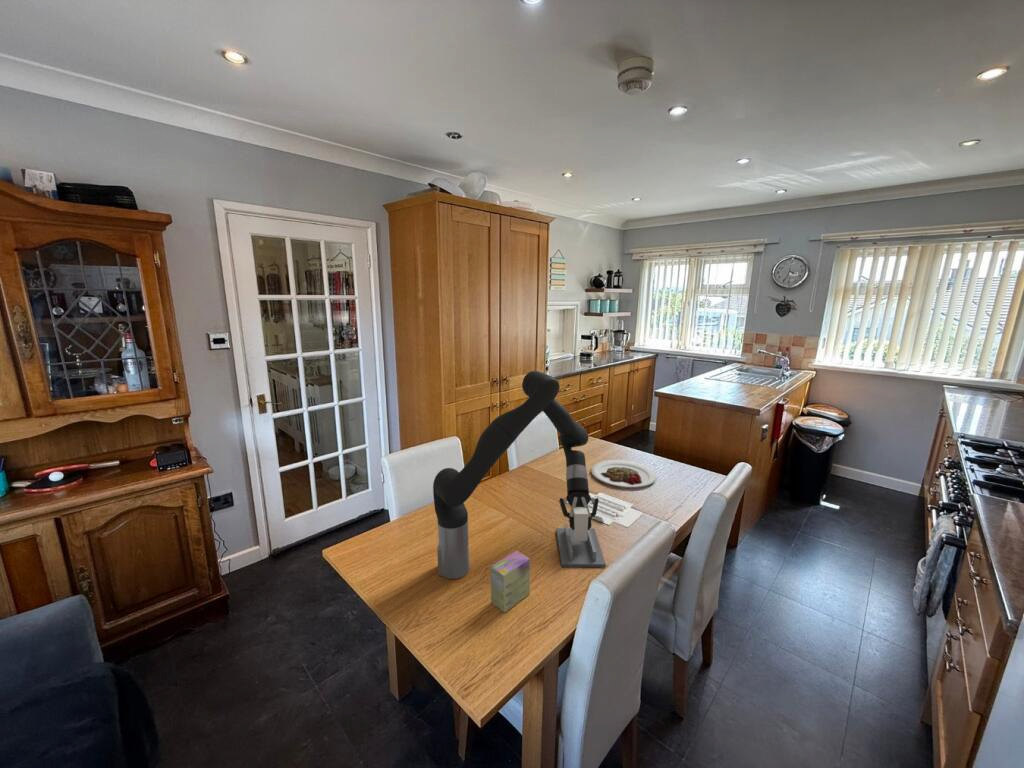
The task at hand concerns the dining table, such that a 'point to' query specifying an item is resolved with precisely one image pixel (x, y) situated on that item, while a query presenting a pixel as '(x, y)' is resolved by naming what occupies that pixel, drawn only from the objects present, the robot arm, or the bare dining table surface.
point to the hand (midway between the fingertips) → (580, 529)
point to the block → (580, 524)
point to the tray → (613, 510)
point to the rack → (579, 549)
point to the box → (510, 580)
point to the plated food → (623, 473)
